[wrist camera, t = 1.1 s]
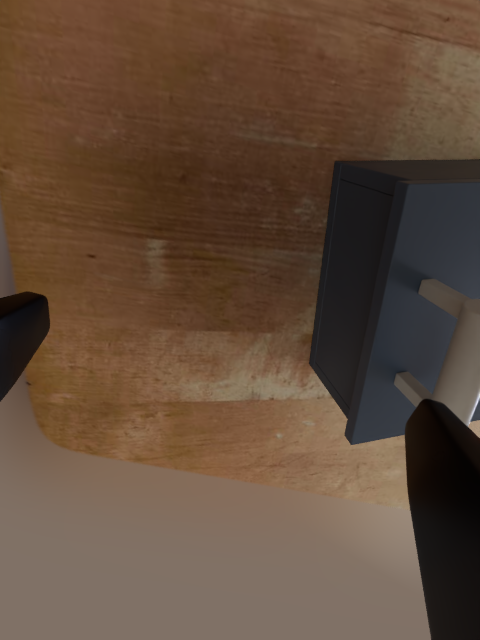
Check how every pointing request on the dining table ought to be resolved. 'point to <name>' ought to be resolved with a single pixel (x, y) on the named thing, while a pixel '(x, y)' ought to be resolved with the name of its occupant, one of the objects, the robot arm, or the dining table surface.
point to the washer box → (360, 259)
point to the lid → (422, 311)
